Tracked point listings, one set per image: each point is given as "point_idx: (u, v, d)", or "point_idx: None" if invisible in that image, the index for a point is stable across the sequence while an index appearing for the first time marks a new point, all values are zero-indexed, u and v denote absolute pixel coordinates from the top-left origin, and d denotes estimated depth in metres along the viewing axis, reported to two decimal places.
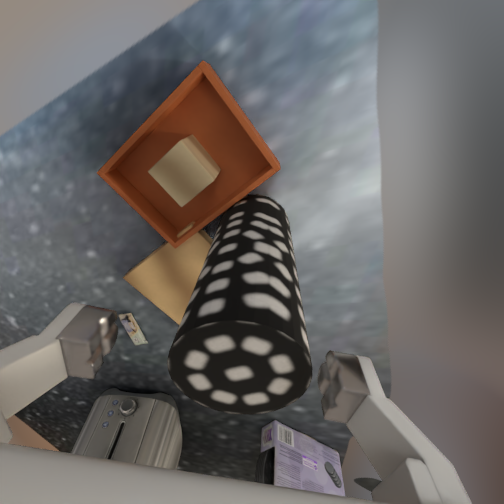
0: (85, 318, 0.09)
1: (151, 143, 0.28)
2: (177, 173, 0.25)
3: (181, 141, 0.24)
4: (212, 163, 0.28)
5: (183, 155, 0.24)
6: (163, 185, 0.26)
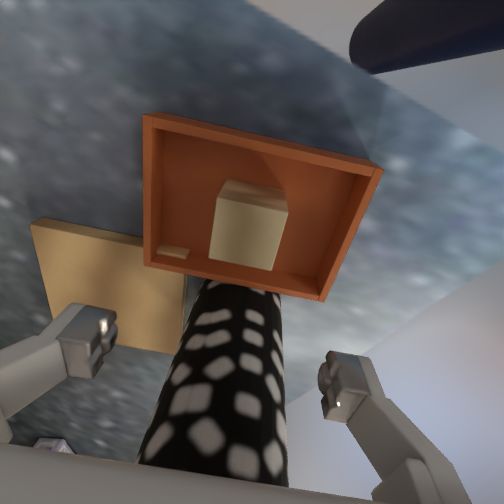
0: (85, 318, 0.09)
1: (236, 150, 0.19)
2: (246, 231, 0.17)
3: (287, 213, 0.17)
4: None
5: (273, 226, 0.17)
6: (216, 225, 0.17)
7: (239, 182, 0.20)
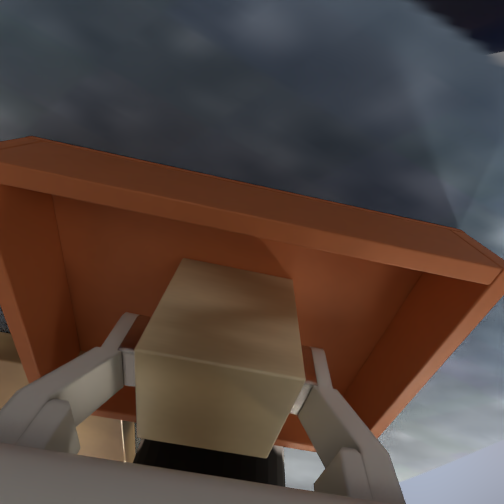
0: (141, 328, 0.09)
1: None
2: (210, 406, 0.08)
3: (303, 379, 0.07)
4: None
5: (270, 400, 0.07)
6: (143, 394, 0.08)
7: (203, 271, 0.10)
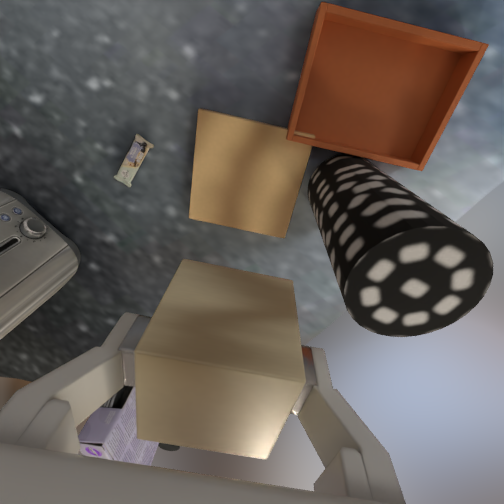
0: (141, 328, 0.09)
1: (370, 41, 0.26)
2: (210, 407, 0.08)
3: (303, 381, 0.07)
4: None
5: (270, 402, 0.07)
6: (143, 395, 0.08)
7: (203, 272, 0.10)
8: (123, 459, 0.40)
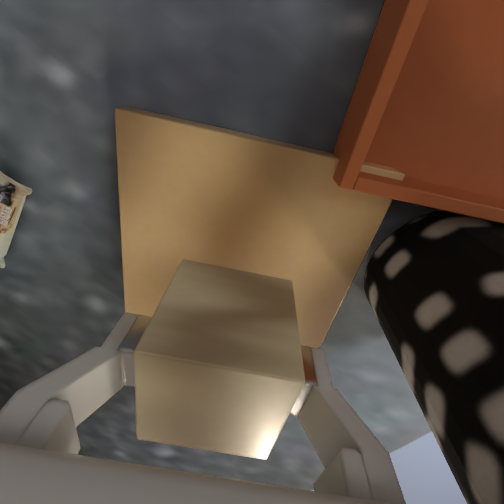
0: (141, 328, 0.09)
1: None
2: (210, 407, 0.08)
3: (303, 381, 0.07)
4: None
5: (269, 402, 0.07)
6: (142, 395, 0.08)
7: (203, 272, 0.10)
8: None
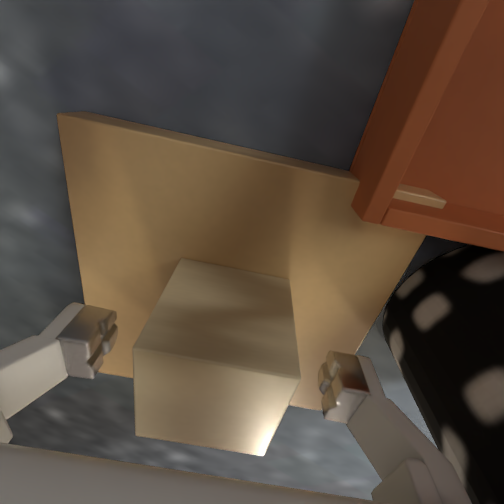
0: (85, 318, 0.09)
1: None
2: (208, 403, 0.08)
3: (299, 377, 0.07)
4: None
5: (266, 398, 0.08)
6: (141, 392, 0.08)
7: (201, 271, 0.10)
8: None
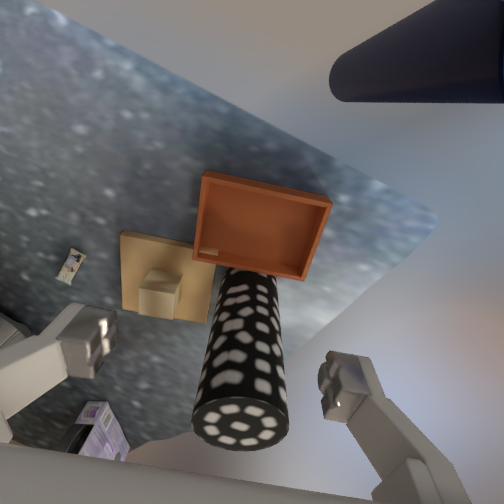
0: (85, 318, 0.09)
1: (251, 191, 0.33)
2: (155, 302, 0.34)
3: (174, 294, 0.34)
4: (179, 297, 0.38)
5: (168, 300, 0.34)
6: (140, 299, 0.34)
7: (156, 272, 0.37)
8: None
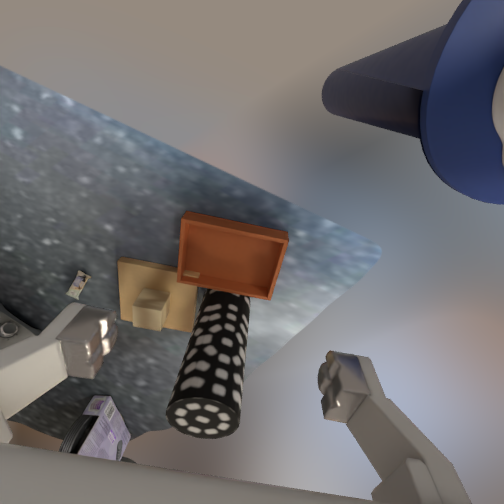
0: (85, 318, 0.09)
1: None
2: (146, 317, 0.42)
3: (161, 311, 0.41)
4: (167, 312, 0.46)
5: (156, 315, 0.42)
6: (133, 314, 0.42)
7: (148, 291, 0.44)
8: None
